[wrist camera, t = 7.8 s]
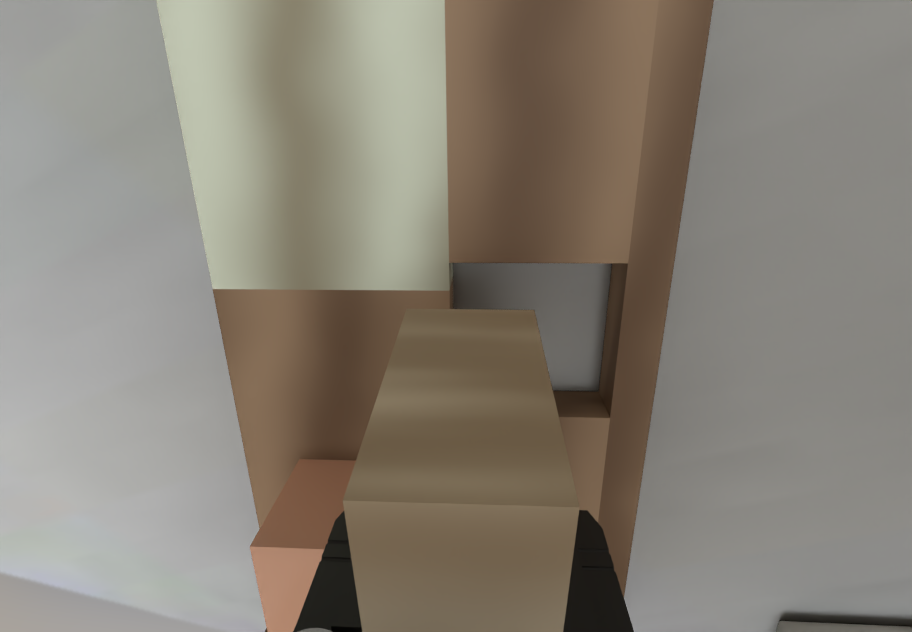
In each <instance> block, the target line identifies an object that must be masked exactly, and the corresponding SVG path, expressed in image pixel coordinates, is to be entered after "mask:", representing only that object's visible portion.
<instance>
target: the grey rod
mask: <svg viewBox="0 0 912 632" xmlns="http://www.w3.org/2000/svg"><path fill="white" fill-rule="evenodd" d="M776 632H912V627H906V626H884V625H861V624H839V623H816V622H794V621H779V623H778V626H777V630H776Z"/></svg>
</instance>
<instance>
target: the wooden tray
mask: <svg viewBox="0 0 912 632" xmlns="http://www.w3.org/2000/svg"><path fill="white" fill-rule="evenodd" d="M156 2H157V7H158V12H159V17H160V22H161V27H162V32H163V37H164V43H165V48H166V53H167V58H168V63H169V68H170V73H171V78H172V83H173V88H174V94H175V99H176V104H177V109H178V114H179V119H180V124H181V129H182V134H183V140H184V145H185V150H186V155H187V160H188V165H189V170H190V175H191V180H192V186H193V191H194V196H195V201H196V206H197V211H198V216H199V221H200V226H201V232H202V237H203V242H204V247H205V252H206V257H207V262H208V267H209V272H210V278H211V283H212V288H213V293H214V298H215V303H216V308H217V313H218V318H219V324H220V329H221V334H222V339H223V344H224V349H225V354H226V359H227V364H228V369H229V375H230V380H231V385H232V390H233V395H234V400H235V405H236V410H237V415H238V421H239V426H240V431H241V436H242V441H243V446H244V451H245V456H246V461H247V467H248V472H249V477H250V482H251V487H252V492H253V497H254V502H255V507H256V513H257V518H258V523H259V528H261V526H262V524H263V522H264V521H265V519H266V517H267V515H268V514H269V512H270V510H271V508H272V507H273V505H274V503H275V501H276V500H277V498H278V496H279V494H280V492H281V491H282V489H283V487H284V485H285V484H286V482H287V480H288V478H289V477H290V475H291V473H292V471H293V470H294V468H295V466H296V464H297V463H298V461H299V459H315V460H353V461H356V459H357V456H358V453H359V450H360V447H361V444H362V441H363V438H364V435H365V432H366V429H367V426H368V423H369V420H370V417H371V414H372V411H373V408H374V405H375V402H376V399H377V396H378V393H379V390H380V387H381V384H382V381H383V378H384V375H385V372H386V369H387V366H388V363H389V360H390V357H391V354H392V351H393V348H394V345H395V342H396V339H397V336H398V333H399V330H400V327H401V324H402V321H403V318H404V315H405V312H406V309H453V263H612V269H611V279H610V289H609V298H608V308H607V317H606V327H605V336H604V346H603V356H602V365H601V375H600V384H599V392H589V391H553V394H554V398H555V403H556V407H557V411H558V416H559V420H560V424H561V429H562V433H563V437H564V442H565V446H566V451H567V455H568V459H569V464H570V468H571V472H572V477H573V481H574V485H575V490H576V494H577V498H578V503H579V507H580V508H579V510H588V511H589V513H590V514H591V515H592V516H593V517H594V519H595V520H596V521H597V522H598V524H599V525H600V526H601V527H602V528H603V532H604V535H605V538H606V542H607V545H608V548H609V554H610V555H611V558H612V561H613V565H614V571H615V572H616V574H617V578H618V581H619V584H620V588H621V591H622V594H623V598H624V593H625V586H626V580H627V573H628V566H629V560H630V553H631V546H632V540H633V533H634V526H635V520H636V513H637V507H638V500H639V493H640V487H641V480H642V473H643V467H644V460H645V453H646V447H647V440H648V433H649V427H650V420H651V414H652V407H653V400H654V394H655V387H656V380H657V374H658V367H659V360H660V354H661V347H662V340H663V334H664V327H665V321H666V314H667V307H668V301H669V294H670V287H671V281H672V274H673V267H674V261H675V254H676V247H677V241H678V234H679V228H680V221H681V214H682V208H683V201H684V194H685V188H686V181H687V174H688V168H689V161H690V154H691V148H692V141H693V135H694V128H695V121H696V115H697V108H698V101H699V95H700V88H701V81H702V75H703V68H704V61H705V55H706V48H707V42H708V35H709V28H710V22H711V15H712V8H713V2H714V0H156ZM265 632H268V631H267V628H266V630H265Z"/></svg>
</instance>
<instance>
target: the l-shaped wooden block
mask: <svg viewBox="0 0 912 632" xmlns="http://www.w3.org/2000/svg"><path fill="white" fill-rule="evenodd" d="M343 506H344V513H345V519H346V526H347V533H348V539H349V546H350V553H351V559H352V566H353V573H354V579H355V586H356V593H357V599H358V606H359V613H360V619H361V626H362V632H563V629H564V621H565V614H566V606H567V599H568V591H569V583H570V576H571V568H572V561H573V553H574V546H575V538H576V530H577V523H578V515H579V508H580V507H579V503H578V498H577V494H576V490H575V485H574V481H573V477H572V472H571V468H570V464H569V459H568V455H567V451H566V446H565V442H564V437H563V433H562V429H561V424H560V420H559V416H558V411H557V407H556V403H555V398H554V394H553V390H552V385H551V381H550V377H549V372H548V368H547V363H546V359H545V355H544V350H543V346H542V342H541V337H540V333H539V329H538V324H537V320H536V316H535V311H534V310H489V309H406V312H405V315H404V318H403V321H402V324H401V327H400V330H399V333H398V336H397V339H396V342H395V345H394V348H393V351H392V354H391V357H390V360H389V363H388V366H387V369H386V372H385V375H384V378H383V381H382V384H381V387H380V390H379V393H378V396H377V399H376V402H375V405H374V408H373V411H372V414H371V417H370V420H369V423H368V426H367V429H366V432H365V435H364V438H363V441H362V444H361V447H360V450H359V453H358V456H357V459H356V462H355V465H354V468H353V471H352V474H351V477H350V480H349V483H348V486H347V489H346V492H345V495H344V498H343Z"/></svg>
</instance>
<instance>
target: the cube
mask: <svg viewBox="0 0 912 632" xmlns="http://www.w3.org/2000/svg"><path fill="white" fill-rule="evenodd" d="M355 462H356V461H353V460H315V459H299V461H298V463H297V464H296V466H295V468H294V470H293V471H292V473H291V475H290V477H289V478H288V480H287V482H286V484H285V485H284V487H283V489H282V491H281V492H280V494H279V496H278V498H277V500H276V501H275V503H274V505H273V507H272V508H271V510H270V512H269V514H268V515H267V517H266V519H265V521H264V522H263V524H262V526H261V528H260V530H259V531H258V533H257V535H256V537H255V538H254V540H253V542H252V544H251V545H250V550H251V554H252V559H253V564H254V569H255V574H256V578H257V583H258V588H259V593H260V598H261V602H262V607H263V612H264V617H265V622H266V626H267V631H268V632H293V631H294V628H295V626H296V624H297V621H298V618H299V616H300V613H301V610H302V608H303V605H304V602H305V600H306V597H307V594H308V592H309V589H310V586H311V584H312V581H313V578H314V575H315V573H316V570H317V567H318V565H319V562H320V561H321V558H322V554H323V551H324V549H325V546H326V544H327V543H328V538H329V535H330V533H331V530H332V527H333V525H334V522H335V520H336V519H337V518H338V516H339V515H340V514H341V513H342V512H343V511H344V506H343V498H344V495H345V492H346V489H347V486H348V483H349V480H350V477H351V474H352V471H353V468H354V465H355Z"/></svg>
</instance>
